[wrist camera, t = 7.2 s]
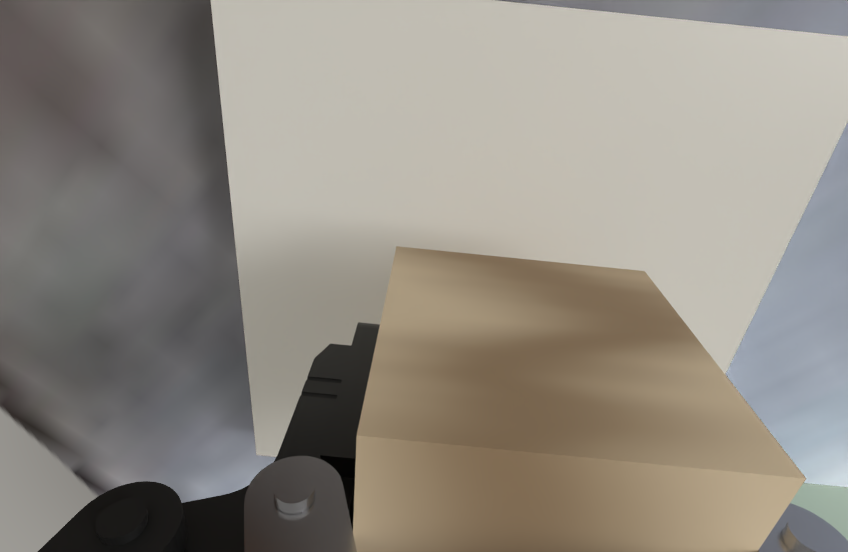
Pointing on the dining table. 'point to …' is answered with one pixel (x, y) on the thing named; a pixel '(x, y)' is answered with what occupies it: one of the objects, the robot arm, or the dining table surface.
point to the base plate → (507, 158)
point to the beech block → (553, 418)
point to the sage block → (825, 504)
